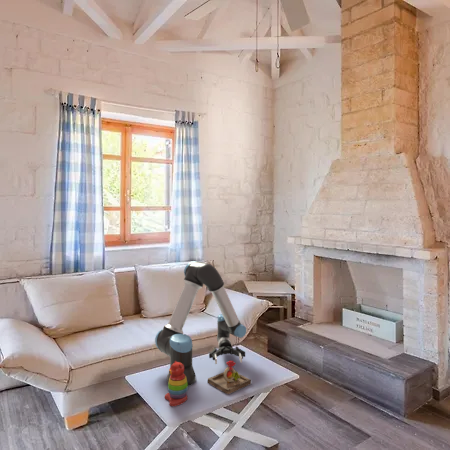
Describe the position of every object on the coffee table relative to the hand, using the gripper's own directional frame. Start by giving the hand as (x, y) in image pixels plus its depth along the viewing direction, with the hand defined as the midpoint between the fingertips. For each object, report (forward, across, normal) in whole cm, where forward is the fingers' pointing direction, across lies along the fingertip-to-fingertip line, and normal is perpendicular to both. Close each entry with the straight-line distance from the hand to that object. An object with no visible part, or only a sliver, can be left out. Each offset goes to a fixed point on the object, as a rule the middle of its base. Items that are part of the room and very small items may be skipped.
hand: (228, 360), depth 195 cm
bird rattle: (+6, 0, -8) cm, 10 cm away
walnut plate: (+6, 0, -9) cm, 11 cm away
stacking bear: (+19, +27, -10) cm, 34 cm away
